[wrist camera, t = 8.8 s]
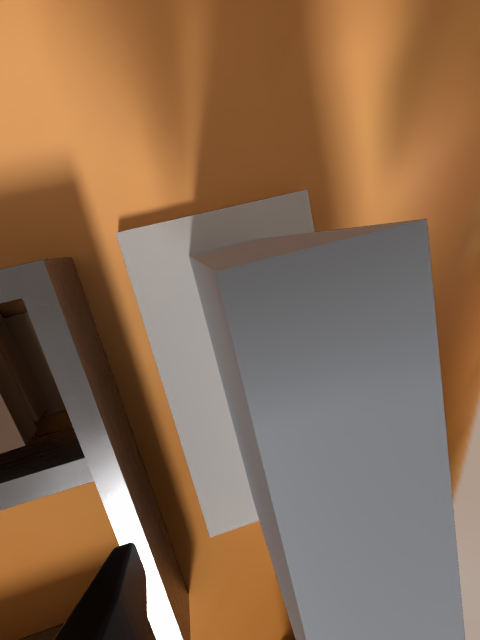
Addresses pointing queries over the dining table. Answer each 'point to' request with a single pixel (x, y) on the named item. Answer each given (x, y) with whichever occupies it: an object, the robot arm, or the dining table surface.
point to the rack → (90, 439)
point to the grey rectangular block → (341, 425)
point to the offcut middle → (21, 373)
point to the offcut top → (13, 413)
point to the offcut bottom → (35, 360)
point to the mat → (201, 339)
